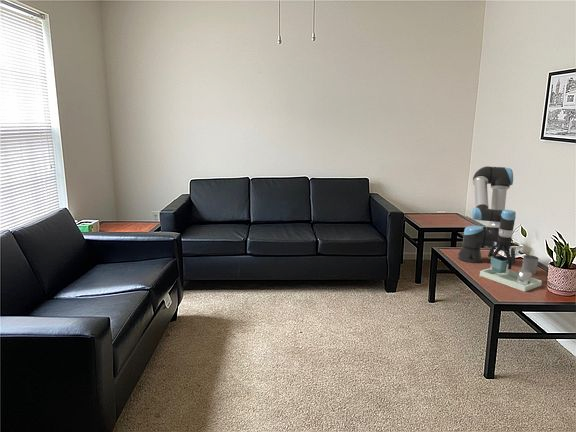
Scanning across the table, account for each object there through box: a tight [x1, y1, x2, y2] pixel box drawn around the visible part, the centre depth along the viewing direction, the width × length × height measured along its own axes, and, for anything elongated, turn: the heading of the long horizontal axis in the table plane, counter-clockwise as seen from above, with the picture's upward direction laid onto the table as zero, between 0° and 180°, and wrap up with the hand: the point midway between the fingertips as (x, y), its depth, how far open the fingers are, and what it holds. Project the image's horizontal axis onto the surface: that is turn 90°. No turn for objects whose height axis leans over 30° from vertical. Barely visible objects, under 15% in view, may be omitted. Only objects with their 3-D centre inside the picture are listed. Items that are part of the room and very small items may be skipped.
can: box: [516, 269, 533, 286], centre depth 256 cm, size 7×7×8 cm
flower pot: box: [490, 255, 508, 274], centre depth 267 cm, size 9×9×9 cm
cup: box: [520, 254, 539, 275], centre depth 281 cm, size 8×8×10 cm
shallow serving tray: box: [479, 267, 543, 292], centre depth 263 cm, size 28×18×4 cm, turn 34°
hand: (499, 271), depth 268 cm, fingers closed on flower pot, 9 cm apart
